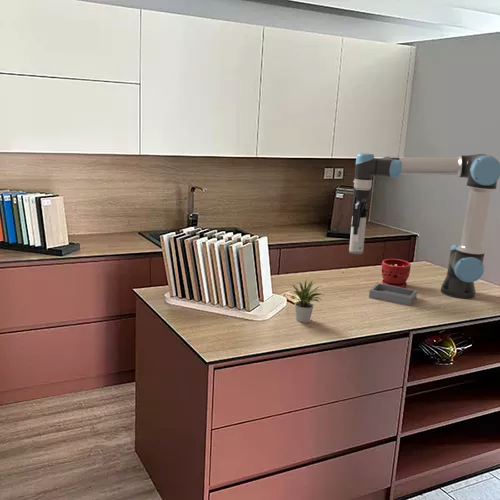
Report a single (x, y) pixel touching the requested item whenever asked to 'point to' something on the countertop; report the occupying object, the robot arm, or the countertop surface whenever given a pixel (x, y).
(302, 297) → the house plant
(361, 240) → the travel mug
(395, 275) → the plant pot
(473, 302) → the countertop surface
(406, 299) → the tray
